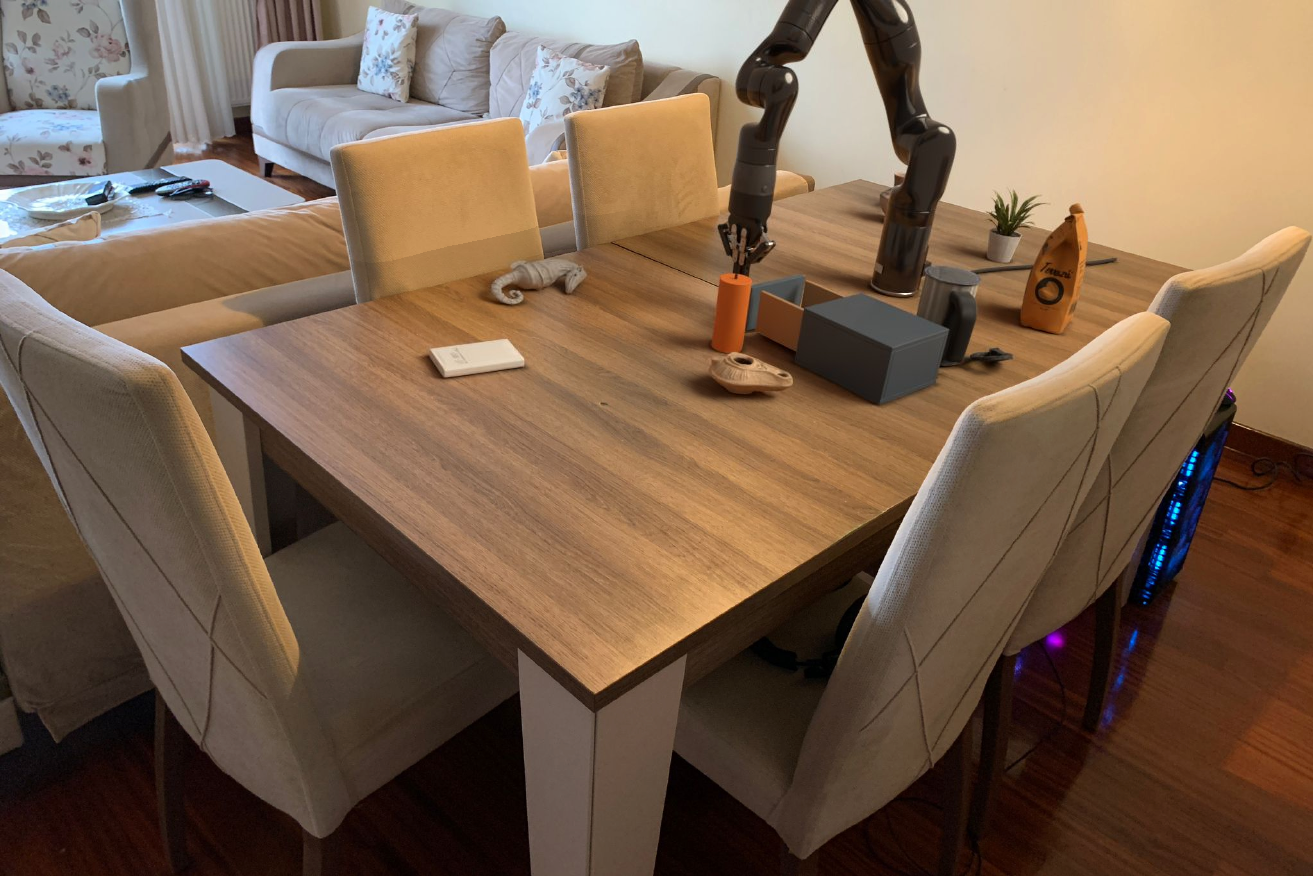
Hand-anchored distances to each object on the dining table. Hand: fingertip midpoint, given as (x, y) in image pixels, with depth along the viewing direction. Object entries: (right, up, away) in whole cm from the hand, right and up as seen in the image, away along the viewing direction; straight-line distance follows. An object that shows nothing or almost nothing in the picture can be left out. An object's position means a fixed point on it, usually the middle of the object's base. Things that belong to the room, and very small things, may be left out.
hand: (739, 282), depth 166 cm
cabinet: (+19, -18, -17) cm, 31 cm away
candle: (-3, -13, -12) cm, 18 cm away
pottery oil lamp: (-1, -21, -26) cm, 34 cm away
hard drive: (-43, -17, -25) cm, 52 cm away
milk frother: (+37, -15, -9) cm, 40 cm away
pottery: (+50, +29, +71) cm, 91 cm away
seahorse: (-37, -1, +3) cm, 37 cm away
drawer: (+9, -10, -7) cm, 15 cm away
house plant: (+65, +13, +45) cm, 81 cm away
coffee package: (+60, -6, +12) cm, 61 cm away
